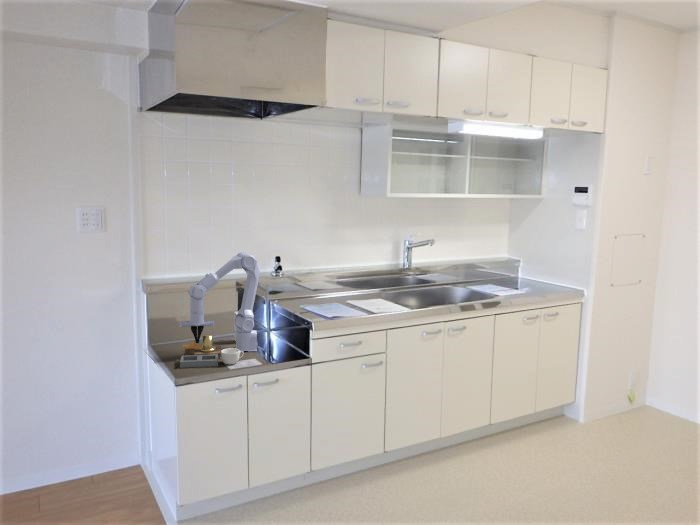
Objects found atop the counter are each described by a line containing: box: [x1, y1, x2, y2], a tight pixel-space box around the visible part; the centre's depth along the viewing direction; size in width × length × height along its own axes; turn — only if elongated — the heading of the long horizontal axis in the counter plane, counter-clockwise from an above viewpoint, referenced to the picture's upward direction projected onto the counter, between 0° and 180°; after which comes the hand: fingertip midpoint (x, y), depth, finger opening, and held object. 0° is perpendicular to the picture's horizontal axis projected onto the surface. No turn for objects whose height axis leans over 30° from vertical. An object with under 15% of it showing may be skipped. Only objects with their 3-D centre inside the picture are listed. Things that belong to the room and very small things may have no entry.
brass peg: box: [199, 333, 216, 352], centre depth 252 cm, size 7×7×9 cm
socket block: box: [184, 345, 222, 360], centre depth 252 cm, size 15×11×4 cm
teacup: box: [220, 347, 245, 365], centre depth 243 cm, size 10×8×5 cm
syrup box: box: [233, 311, 238, 342], centre depth 274 cm, size 6×6×14 cm
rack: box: [179, 354, 219, 369], centre depth 241 cm, size 15×8×2 cm, turn 102°
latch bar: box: [182, 339, 203, 350], centre depth 250 cm, size 8×2×3 cm, turn 102°
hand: (197, 342), depth 251 cm, fingers closed
